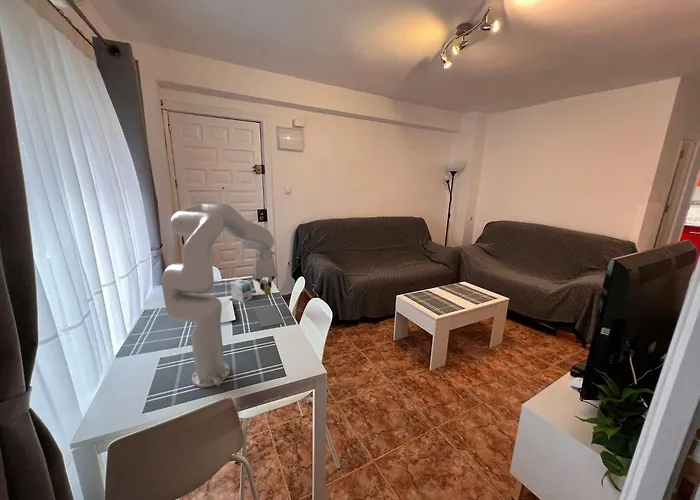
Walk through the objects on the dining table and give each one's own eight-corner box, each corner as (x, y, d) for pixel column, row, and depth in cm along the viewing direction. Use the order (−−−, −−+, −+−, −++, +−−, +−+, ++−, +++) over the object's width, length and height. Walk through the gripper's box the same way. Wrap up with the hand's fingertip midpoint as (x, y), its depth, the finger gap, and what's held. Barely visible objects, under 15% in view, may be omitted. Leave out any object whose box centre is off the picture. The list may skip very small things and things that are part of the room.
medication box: (261, 287, 147) (260, 279, 146) (266, 286, 149) (266, 279, 147) (265, 295, 137) (265, 288, 136) (271, 295, 138) (270, 287, 137)
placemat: (283, 323, 140) (283, 322, 140) (261, 328, 135) (260, 327, 135) (274, 305, 159) (274, 304, 159) (253, 309, 154) (253, 308, 154)
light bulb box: (252, 298, 167) (251, 282, 164) (242, 303, 161) (241, 285, 159) (241, 294, 172) (239, 278, 170) (231, 298, 167) (229, 281, 164)
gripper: (278, 251, 145) (280, 284, 149) (245, 254, 137) (248, 289, 142) (282, 255, 138) (283, 289, 143) (247, 258, 131) (250, 295, 136)
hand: (265, 289), depth 142 cm, fingers closed on medication box, 2 cm apart
